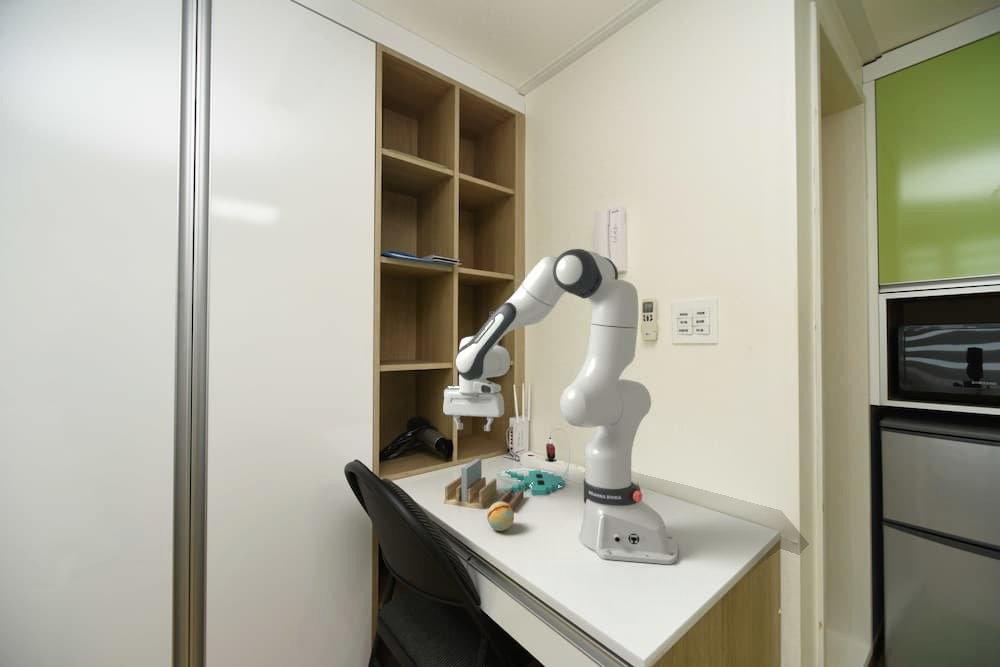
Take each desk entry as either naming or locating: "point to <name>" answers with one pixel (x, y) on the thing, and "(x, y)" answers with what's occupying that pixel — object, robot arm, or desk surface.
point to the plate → (470, 476)
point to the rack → (471, 493)
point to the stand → (515, 500)
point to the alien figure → (536, 482)
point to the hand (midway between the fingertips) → (473, 430)
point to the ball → (500, 516)
